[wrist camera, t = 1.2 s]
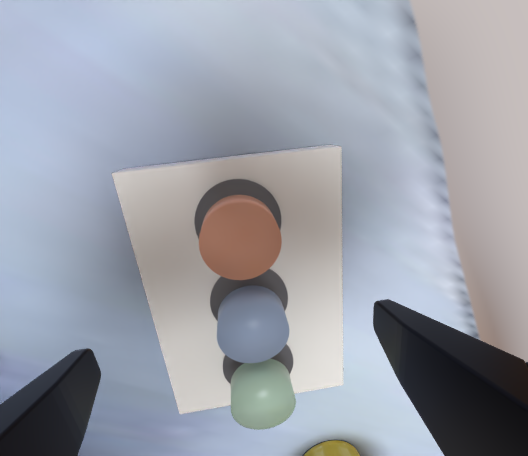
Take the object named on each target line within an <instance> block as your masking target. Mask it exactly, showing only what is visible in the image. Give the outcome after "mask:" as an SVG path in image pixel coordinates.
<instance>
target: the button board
mask: <svg viewBox="0 0 528 456" xmlns="http://www.w3.org/2000/svg"><path fill="white" fill-rule="evenodd" d="M112 176H113V180H114V183H115V187H116V190H117V194H118V197H119V201H120V205H121V208H122V212H123V215H124V219H125V222H126V226H127V229H128V233H129V236H130V240H131V243H132V247H133V251H134V254H135V258H136V261H137V265H138V268H139V272H140V275H141V279H142V282H143V286H144V289H145V293H146V297H147V300H148V304H149V307H150V311H151V314H152V318H153V321H154V325H155V328H156V332H157V335H158V339H159V343H160V346H161V350H162V353H163V357H164V360H165V364H166V367H167V371H168V374H169V378H170V381H171V385H172V389H173V392H174V396H175V399H176V403H177V406H178V410H179V413H180V414H185V413H190V412H196V411H201V410H207V409H213V408H218V407H224V406H229V405H231V378H232V376H233V374H234V372H235V371H236V370H237V368H239V367H240V366H241V365H242V364H244V363H242V362H238V361H235V360H233V359H231V358H229V357H228V356H227V355H225V354H224V353H223V352H222V350H221V349H220V347H219V345H218V342H217V323H218V310H219V307H220V304H221V302H222V301H223V299H224V298H225V297H226V296H227V295H228V294H229V293H231V292H232V291H234V290H236V289H238V288H241V287H244V286H251V285H255V286H262V287H265V288H268V289H270V290H271V291H273V292H274V293H275V294H276V295H277V296H278V297H279V298H280V300H281V302H282V304H283V308H284V311H285V314H286V318H287V321H288V324H289V338H288V341H287V343H286V345H285V346H284V348H283V349H282V350H281V351H280V352H279V353H278V354H277V355H275V356H274V357H272V358H270V359H274V360H277V361H279V362H281V363H282V364H283V365H284V366H285V367H286V368H287V370H288V372H289V375H290V379H291V383H292V387H293V391H294V394H296V393H301V392H307V391H313V390H318V389H324V388H329V387H335V386H340V385H343V282H342V154H341V146H336V145H323V146H314V147H306V148H297V149H288V150H280V151H271V152H262V153H254V154H245V155H236V156H228V157H219V158H210V159H202V160H193V161H184V162H176V163H167V164H158V165H150V166H141V167H133V168H124V169H121V170H119V171H116V172H114V173H112ZM232 195H247V196H251V197H254V198H256V199H258V200H260V201H261V202H263V203H264V204H265V205H266V206H267V207H268V208H269V209H270V211H271V212H272V214H273V216H274V218H275V220H276V222H277V224H278V227H279V229H280V232H281V238H282V244H281V250H280V253H279V256H278V258H277V260H276V261H275V263H274V264H273V265H272V266H271V267H270V268H269V269H268V270H267V271H266V272H264V273H263V274H261V275H259V276H257V277H254V278H251V279H247V280H232V279H227V278H224V277H222V276H220V275H218V274H216V273H215V272H213V271H212V270H211V269H210V268H209V267H208V266H207V265H206V263H205V262H204V260H203V259H202V256H201V254H200V250H199V235H200V231H201V227H202V224H203V220H204V217H205V215H206V213H207V212H208V210H209V209H210V208H211V207H212V206H213V205H214V204H215V203H216V202H217V201H219V200H221V199H223V198H225V197H228V196H232Z"/></svg>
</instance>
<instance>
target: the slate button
mask: <svg viewBox="0 0 528 456" xmlns="http://www.w3.org/2000/svg"><path fill="white" fill-rule="evenodd" d="M288 338H289V324H288V321H287V318H286V314H285V311H284V308H283V304H282V302H281V300H280V298H279V297H278V296H277V295H276V294H275V293H274V292H273V291H271V290H270V289H268V288H265V287H262V286H255V285H251V286H244V287H241V288H238V289H236V290H234V291H232V292H231V293H229V294H228V295H227V296H226V297H225V298H224V299H223V301H222V302H221V304H220V307H219V310H218V323H217V342H218V345H219V347H220V349H221V350H222V352H223V353H224V354H225V355H227V356H228V357H229V358H231V359H233V360H235V361H238V362H242V363H259V362H263V361H266V360H268V359H270V358H272V357H274V356H275V355H277V354H278V353H279V352H280V351H281V350H282V349H283V348H284V346H285V345H286V343H287V341H288Z"/></svg>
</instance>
